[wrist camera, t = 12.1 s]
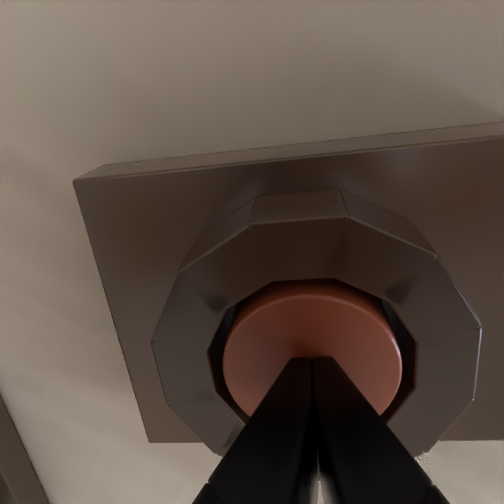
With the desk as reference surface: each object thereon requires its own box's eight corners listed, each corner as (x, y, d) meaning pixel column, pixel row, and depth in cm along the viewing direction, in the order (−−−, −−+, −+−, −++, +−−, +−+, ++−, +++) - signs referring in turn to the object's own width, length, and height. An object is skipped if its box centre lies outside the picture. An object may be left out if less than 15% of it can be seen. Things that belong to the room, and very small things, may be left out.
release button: (386, 251, 9) (405, 290, 7) (385, 383, 10) (401, 439, 9) (223, 262, 9) (208, 300, 8) (244, 386, 11) (234, 440, 9)
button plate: (516, 119, 9) (628, 143, 6) (482, 395, 12) (546, 506, 9) (103, 164, 11) (21, 202, 8) (165, 402, 14) (125, 501, 11)
